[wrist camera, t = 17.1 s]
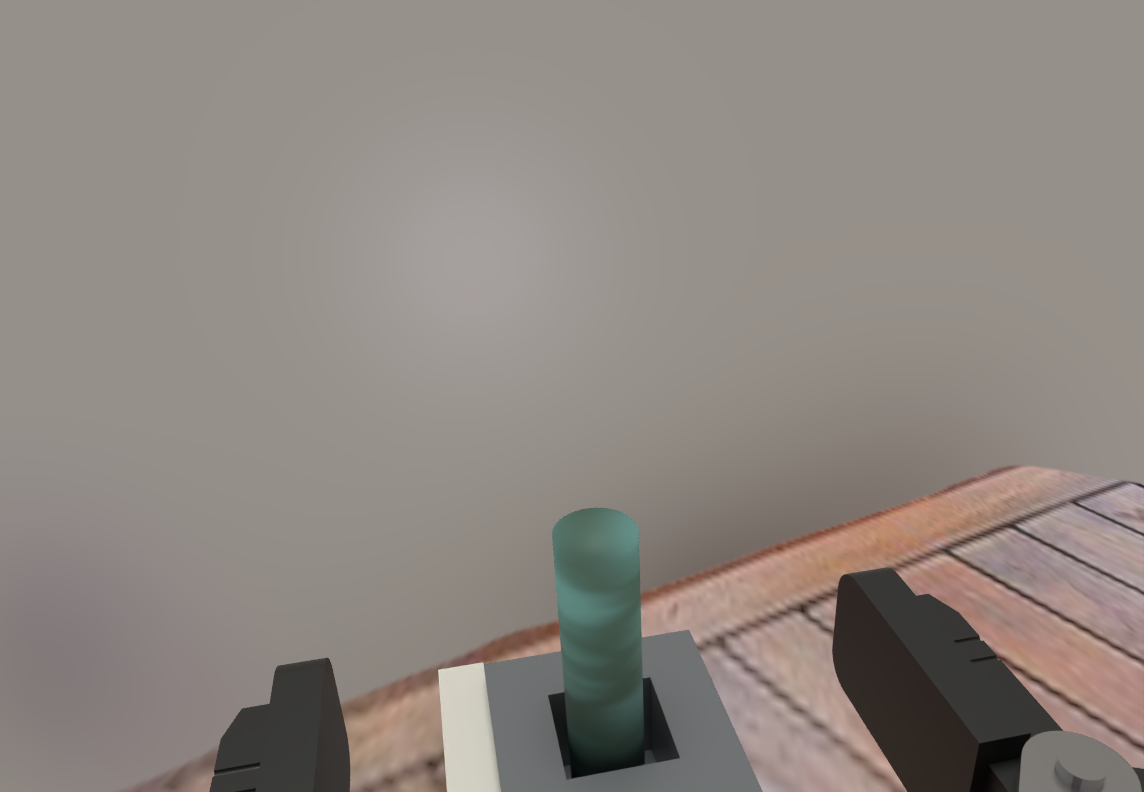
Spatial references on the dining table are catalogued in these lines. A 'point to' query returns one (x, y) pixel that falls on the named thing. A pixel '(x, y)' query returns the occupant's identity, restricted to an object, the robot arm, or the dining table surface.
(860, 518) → the dining table surface
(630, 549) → the dowel
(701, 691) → the socket block
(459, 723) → the wall
